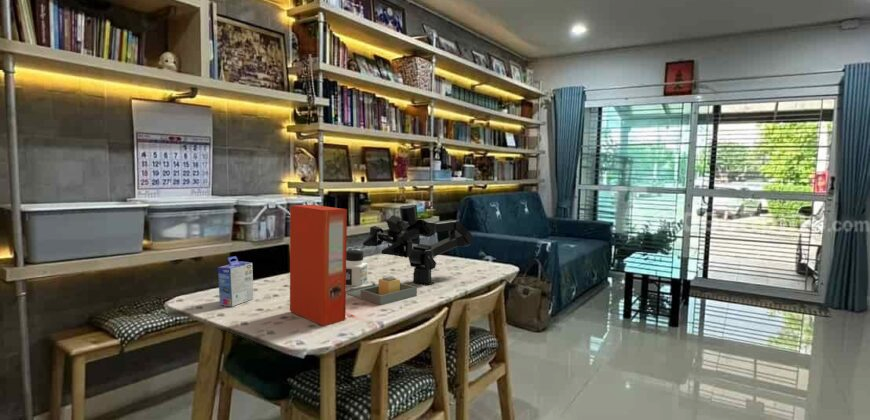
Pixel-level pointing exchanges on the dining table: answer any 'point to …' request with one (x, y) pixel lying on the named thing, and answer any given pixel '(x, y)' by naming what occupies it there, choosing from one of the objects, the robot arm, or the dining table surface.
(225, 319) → the dining table surface
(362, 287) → the lid
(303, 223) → the file binder
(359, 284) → the container
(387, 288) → the block
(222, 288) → the ink cartridge box
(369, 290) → the case
